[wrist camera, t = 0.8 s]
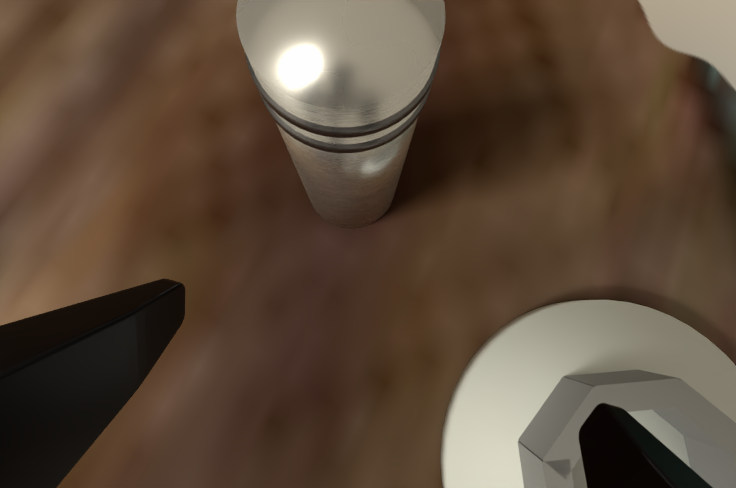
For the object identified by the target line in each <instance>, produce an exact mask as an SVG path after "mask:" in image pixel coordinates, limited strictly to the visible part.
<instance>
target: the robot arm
mask: <svg viewBox="0 0 736 488" xmlns="http://www.w3.org/2000/svg"><path fill="white" fill-rule="evenodd" d="M184 316H185V287H184V285H183V284H182V283H180V282H176V281H173V280H169V279H160V280H157V281H153V282H150V283H147V284H143V285H140V286H136V287H133V288H129V289H126V290H122V291H119V292H115V293H112V294H109V295H105V296H102V297H98V298H95V299H91V300H88V301H84V302H81V303H77V304H74V305H70V306H67V307H63V308H60V309H57V310H53V311H50V312H46V313H43V314H39V315H36V316H32V317H29V318H25V319H22V320H18V321H15V322H12V323H8V324H5V325H1V326H0V488H56V487H57V486H58V485H59V484H60V483H61V481H62V480H63V479H64V478H65V476H66V475H67V474H68V473H69V472H70V470H71V469H72V468H73V467H74V466H75V464H76V463H77V462H78V461H79V460H80V458H81V457H82V456H83V455H84V453H85V452H86V451H87V450H88V449H89V447H90V446H91V445H92V444H93V443H94V441H95V440H96V439H97V438H98V437H99V435H100V434H101V433H102V432H103V431H104V429H105V428H106V427H107V426H108V424H109V423H110V422H111V421H112V420H113V418H114V417H115V416H116V415H117V414H118V412H119V411H120V410H121V409H122V408H123V406H124V405H125V404H126V403H127V401H128V400H129V399H130V398H131V397H132V395H133V394H134V393H135V392H136V390H137V389H138V388H139V386H140V385H141V384H142V382H143V381H144V379H145V378H146V377H147V375H148V374H149V372H150V371H151V369H152V368H153V366H154V365H155V363H156V362H157V360H158V359H159V357H160V356H161V354H162V353H163V351H164V350H165V348H166V347H167V345H168V344H169V342H170V341H171V339H172V338H173V336H174V335H175V333H176V332H177V330H178V329H179V327H180V326H181V324H182V322H183V319H184ZM579 445H580V450H581V456H582V461H583V467H584V472H585V478H586V483H587V488H713V487H711V486H710V485H709V484H708V483H707V482H706V481H705V480H704V479H702V478H701V477H700V476H699V475H698V474H697V473H696V472H695V471H693V470H692V469H691V468H690V467H689V466H688V465H687V464H685V463H684V462H683V461H682V460H681V459H680V458H679V457H678V456H676V455H675V454H674V453H673V452H672V451H671V450H670V449H669V448H667V447H666V446H665V445H664V444H663V443H662V442H661V441H659V440H658V439H657V438H656V437H655V436H654V435H653V434H652V433H650V432H649V431H648V430H647V429H646V428H645V427H644V426H643V425H641V424H640V423H639V422H638V421H637V420H636V419H635V418H633V417H632V416H631V415H630V414H629V413H628V412H627V411H625V410H624V409H622V408H620V407H617V406H614V405H610V404H607V403H600V404H598V405H597V406H596V407H595V408H594V409H593V411H592V412H591V414H590V415H589V416H588V418H587V419H586V420H585V422H584V423H583V424H582V426H581V427H580V430H579Z"/></svg>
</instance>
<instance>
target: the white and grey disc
mask: <svg viewBox="0 0 736 488" xmlns="http://www.w3.org/2000/svg"><path fill="white" fill-rule="evenodd" d="M600 403H607V404H610V405H614V406H617V407H620V408H622V409H624V410H625V411H627V412H628V413H629V414H630V415H631V416H632V417H633V418H635V419H636V420H637V421H638V422H639V423H640V424H641V425H643V426H644V427H645V428H646V429H647V430H648V431H649V432H650V433H652V434H653V435H654V436H655V437H656V438H657V439H658V440H659V441H661V442H662V443H663V444H664V445H665V446H666V447H667V448H669V449H670V450H671V451H672V452H673V453H674V454H675V455H676V456H678V457H679V458H680V459H681V460H682V461H683V462H684V463H685V464H687V465H688V466H689V467H690V468H691V469H692V470H693V471H695V472H696V473H697V474H698V475H699V476H700V477H701V478H702V479H704V480H705V481H706V482H707V483H708V484H709V485H710V486H711V487H713V488H736V365H735V364H734V363H733V362H732V361H731V360H730V359H729V358H728V357H727V355H726V354H725V353H723V352H722V351H721V350H720V349H719V348H718V347H717V346H715V345H714V344H713V343H712V342H711V341H710V340H709V339H707V338H706V337H705V336H703V335H702V334H700V333H699V332H697V331H696V330H694V329H693V328H692V327H690V326H689V325H687V324H685V323H683V322H681V321H679V320H677V319H676V318H674V317H672V316H670V315H667V314H665V313H662V312H660V311H657V310H655V309H652V308H650V307H646V306H642V305H638V304H634V303H630V302H622V301H614V300H579V301H567V302H561V303H554V304H550V305H547V306H543V307H540V308H537V309H534V310H532V311H529V312H527V313H525V314H523V315H521V316H518V317H517V318H515V319H513V320H512V321H510V322H509V323H507V324H506V325H504V326H503V327H501V328H500V329H499V330H498V331H496V332H495V333H494V334H493V335H492V336H491V337H489V338H488V339H487V340H486V341H485V342H484V343H483V345H482V346H481V347H480V348H479V349H478V350H477V351H476V353H475V354H474V355H473V356H472V358H471V359H470V361H469V362H468V364H467V365H466V367H465V368H464V370H463V371H462V373H461V375H460V378H459V380H458V382H457V384H456V386H455V388H454V390H453V393H452V396H451V399H450V402H449V405H448V407H447V410H446V415H445V420H444V425H443V430H442V440H441V453H440V459H441V479H442V485H443V488H587V483H586V478H585V472H584V467H583V461H582V456H581V450H580V445H579V430H580V427H581V426H582V424H583V423H584V422H585V420H586V419H587V418H588V416H589V415H590V414H591V412H592V411H593V409H594V408H595V407H596V406H597V405H598V404H600Z"/></svg>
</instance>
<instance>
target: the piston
mask: <svg viewBox="0 0 736 488" xmlns="http://www.w3.org/2000/svg"><path fill="white" fill-rule="evenodd" d="M236 19H237V29H238V33H239V37H240V41H241V43H242V45H243V48H244V50H245V55H246V60H247V64H248V68H249V71H250V73H251V75H252V78H253V80H254V82H255V84H256V87H257V89H258V90H259V93H260V95H261V97H262V100H263V102H264V104H265V106H266V108H267V110H268V112H269V113H270V115H271V117H272V118H273V119H274V120H275V122H276V123H277V126H278V128H279V130H280V132H281V135H282V137H283V139H284V142H285V144H286V146H287V148H288V151H289V153H290V155H291V158H292V160H293V162H294V165H295V167H296V169H297V171H298V174H299V176H300V178H301V181H302V183H303V185H304V187H305V190H306V192H307V194H308V197H309V199H310V201H311V203H312V205H313V207H314V209H315V210H316V211H317V213H318V214H319V215H320V216H321V217H322V218H323V219H325V220H326V221H328V222H329V223H331V224H333V225H336V226H339V227H343V228H360V227H364V226H367V225H369V224H372V223H373V222H375V221H377V220H378V219H379V218H381V217H382V216H383V215H384V214H385V213H386V211H387V210H388V209H389V207H390V205H391V203H392V200H393V198H394V194H395V191H396V188H397V185H398V181H399V178H400V175H401V172H402V168H403V165H404V162H405V159H406V155H407V152H408V149H409V146H410V142H411V139H412V136H413V133H414V129H415V126H416V123H417V119H418V116H419V115H420V113H421V111H422V109H423V108H424V105H425V103H426V100H427V98H428V95H429V92H430V88H431V84H432V81H433V79H434V76H435V73H436V70H437V66H438V62H439V58H440V48H441V41H442V37H443V33H444V28H445V5H444V0H238V2H237V12H236Z"/></svg>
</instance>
